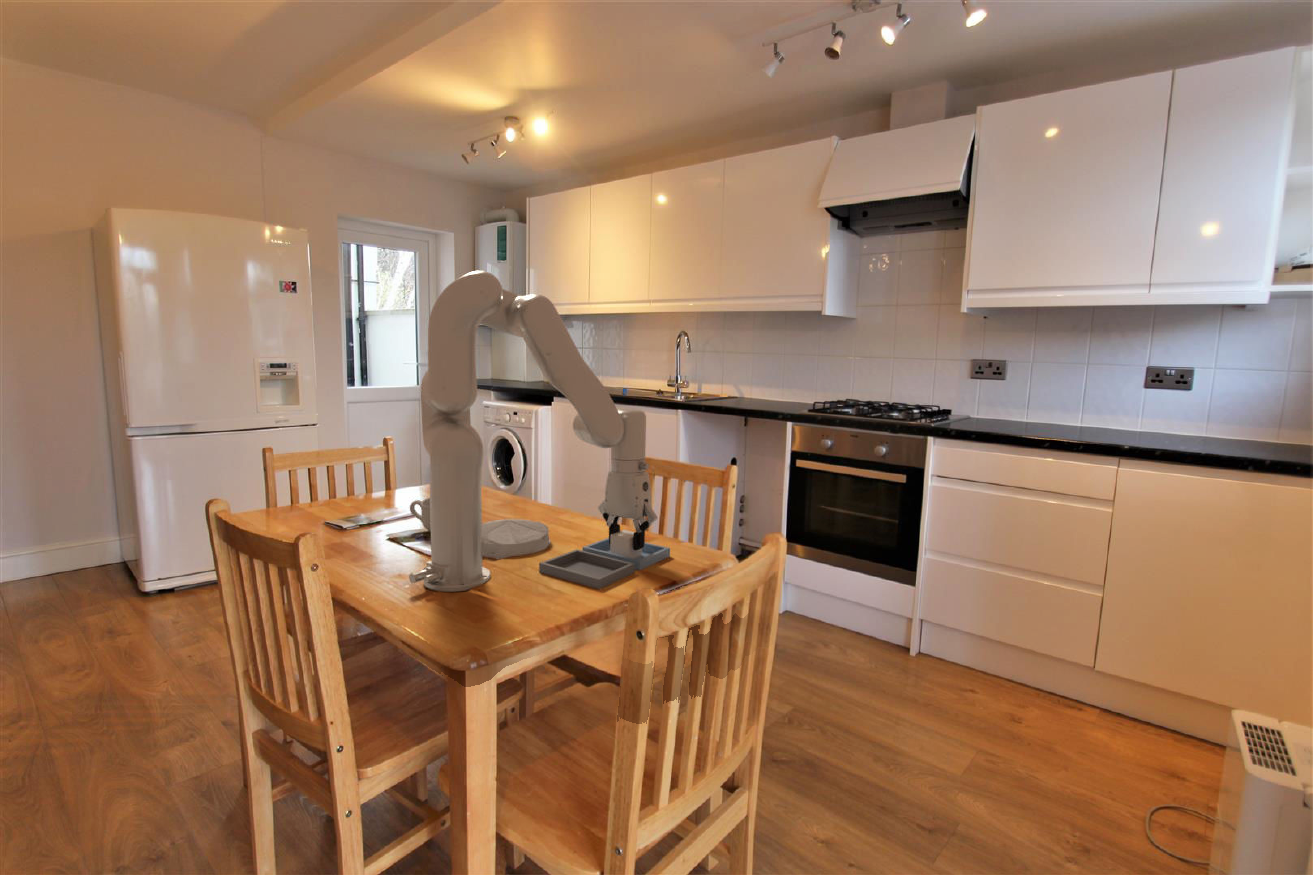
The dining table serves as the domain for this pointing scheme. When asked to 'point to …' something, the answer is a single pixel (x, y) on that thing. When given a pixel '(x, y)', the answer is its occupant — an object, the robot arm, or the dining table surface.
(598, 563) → the charcoal bin
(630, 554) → the stone block
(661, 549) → the slate-blue bin
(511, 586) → the dining table surface
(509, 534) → the food container
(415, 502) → the teacup
